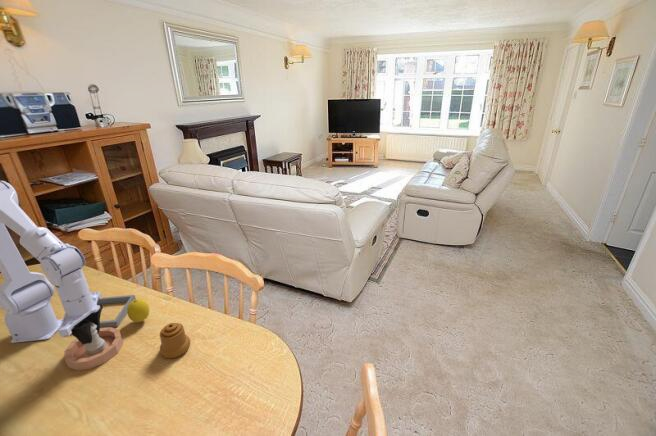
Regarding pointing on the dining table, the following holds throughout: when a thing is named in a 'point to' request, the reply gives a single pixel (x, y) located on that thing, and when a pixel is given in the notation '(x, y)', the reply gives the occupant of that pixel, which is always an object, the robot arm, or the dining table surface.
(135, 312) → the lemon
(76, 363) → the bowl
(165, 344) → the ornamental finial
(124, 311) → the grey square frame
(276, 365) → the dining table surface
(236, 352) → the dining table surface
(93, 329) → the rook chess piece
